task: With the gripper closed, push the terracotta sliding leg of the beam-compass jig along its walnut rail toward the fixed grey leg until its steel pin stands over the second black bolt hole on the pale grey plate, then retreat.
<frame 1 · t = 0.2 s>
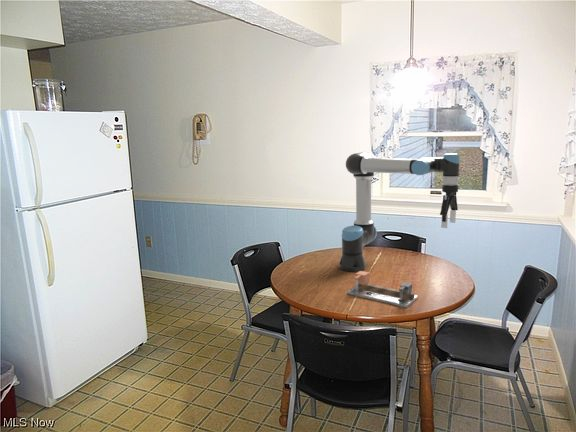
hand: (448, 225, 220), 28 cm above the table, fingers open, 13 cm apart
bolt plate: (381, 295, 202), on the table
sliding leg: (360, 280, 208), point 5 cm above the table, slide at -11.5 cm
rail and fixed leg: (382, 287, 201), on the bolt plate, point 4 cm above the table
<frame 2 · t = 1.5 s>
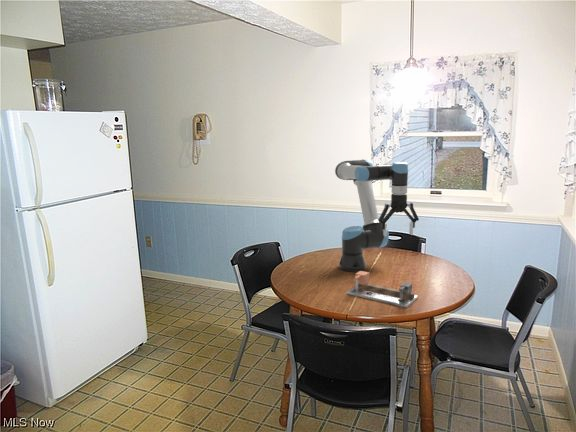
hand: (398, 235, 215), 25 cm above the table, fingers open, 13 cm apart
nothing on the table moved.
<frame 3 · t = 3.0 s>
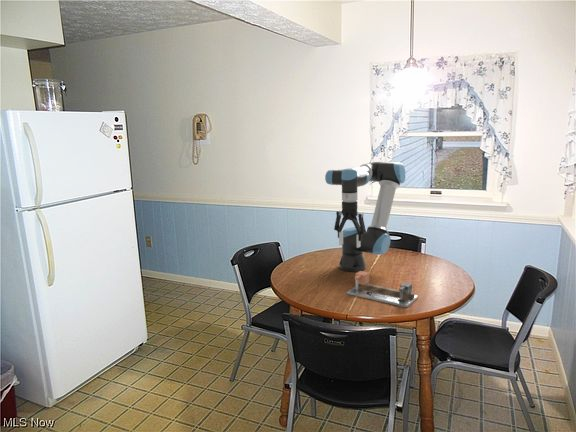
hand: (349, 245, 210), 21 cm above the table, fingers open, 9 cm apart
nothing on the table moved.
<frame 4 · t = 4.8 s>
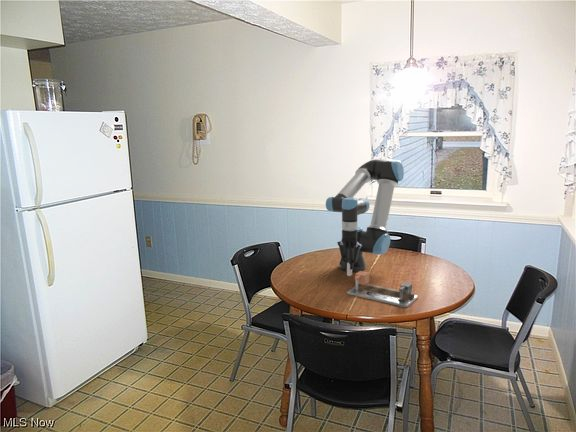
hand: (349, 275, 213), 6 cm above the table, fingers closed
nothing on the table moved.
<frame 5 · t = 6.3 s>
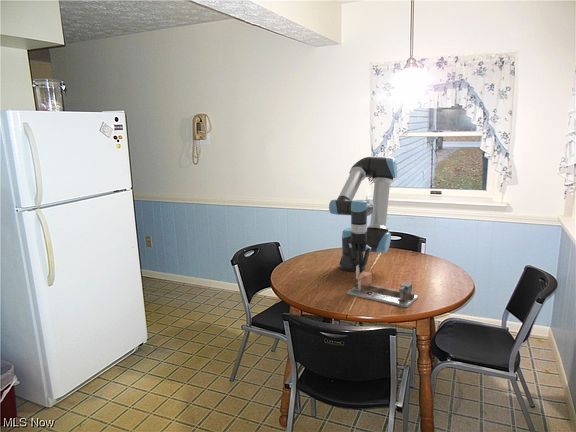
hand: (358, 278, 211), 6 cm above the table, fingers closed
sliding leg: (363, 281, 207), point 5 cm above the table, slide at -10.1 cm, touching gripper
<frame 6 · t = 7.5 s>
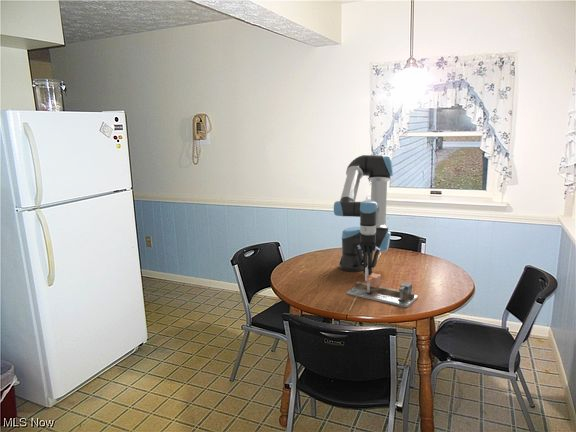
hand: (367, 280, 208), 5 cm above the table, fingers closed
sliding leg: (371, 283, 204), point 5 cm above the table, slide at -5.3 cm, touching gripper
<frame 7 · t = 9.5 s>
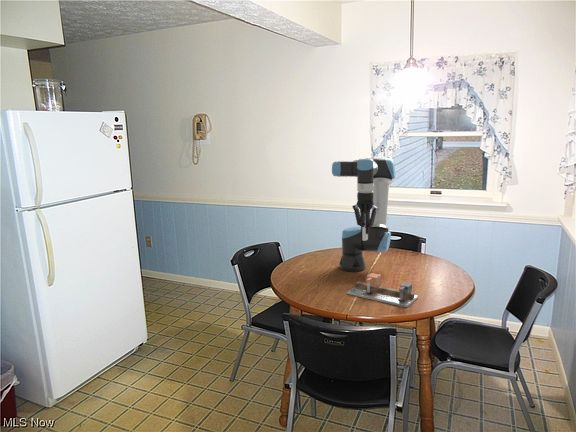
hand: (365, 239, 206), 25 cm above the table, fingers closed
sliding leg: (372, 283, 204), point 5 cm above the table, slide at -5.3 cm
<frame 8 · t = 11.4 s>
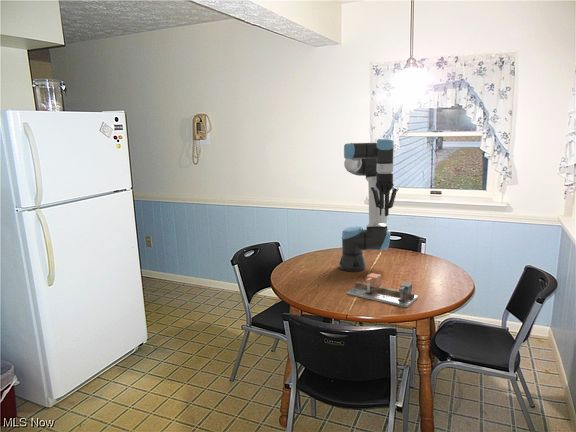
hand: (384, 222, 201), 34 cm above the table, fingers closed
nothing on the table moved.
at the end: sliding leg slide at -5.3 cm; sliding leg touching nothing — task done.
